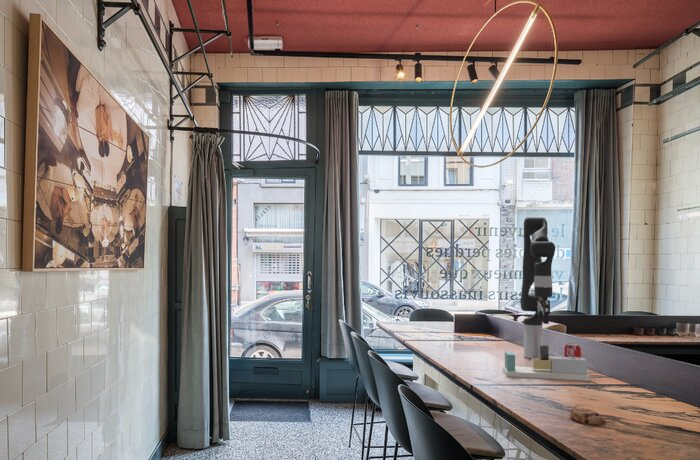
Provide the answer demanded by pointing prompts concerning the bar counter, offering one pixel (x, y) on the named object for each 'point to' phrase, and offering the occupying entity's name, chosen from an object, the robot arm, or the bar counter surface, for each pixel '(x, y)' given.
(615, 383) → the bar counter surface
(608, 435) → the bar counter surface
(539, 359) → the tan knobbed slider
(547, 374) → the board
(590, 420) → the cookie
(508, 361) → the socket
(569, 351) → the soda can
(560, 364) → the steel sleeve
